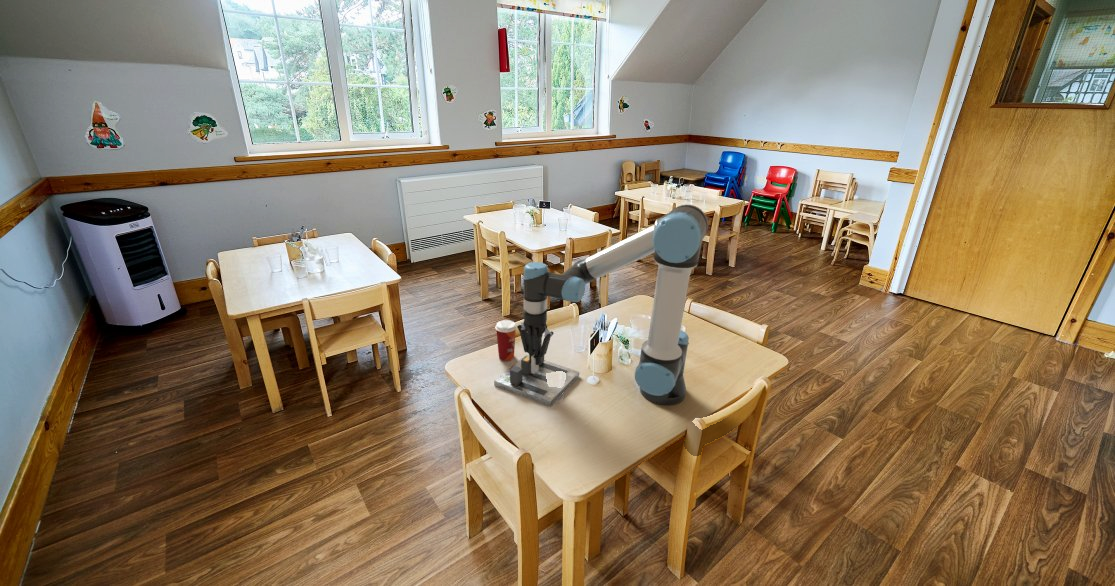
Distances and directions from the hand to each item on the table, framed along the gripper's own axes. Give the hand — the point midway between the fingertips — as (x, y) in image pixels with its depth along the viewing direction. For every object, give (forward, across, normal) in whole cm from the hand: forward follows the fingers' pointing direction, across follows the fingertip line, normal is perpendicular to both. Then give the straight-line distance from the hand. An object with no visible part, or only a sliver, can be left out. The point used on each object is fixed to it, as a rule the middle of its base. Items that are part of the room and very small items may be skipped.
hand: (534, 371), depth 161 cm
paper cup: (+4, +17, -7) cm, 19 cm away
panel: (+4, -1, 0) cm, 4 cm away
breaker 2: (+1, +3, -7) cm, 8 cm away
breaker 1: (+1, +3, +7) cm, 8 cm away
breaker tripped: (+1, +3, 0) cm, 3 cm away
